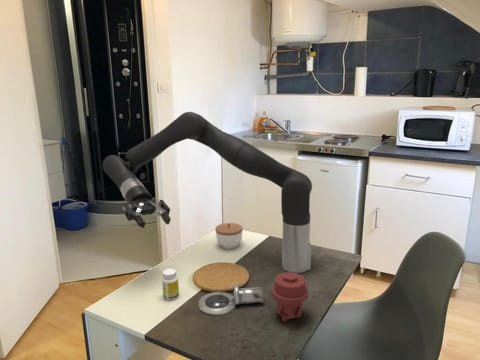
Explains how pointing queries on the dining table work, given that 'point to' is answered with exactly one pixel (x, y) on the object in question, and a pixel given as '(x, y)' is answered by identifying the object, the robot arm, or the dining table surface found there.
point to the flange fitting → (229, 300)
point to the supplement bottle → (170, 284)
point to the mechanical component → (289, 294)
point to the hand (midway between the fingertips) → (156, 224)
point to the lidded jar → (229, 235)
